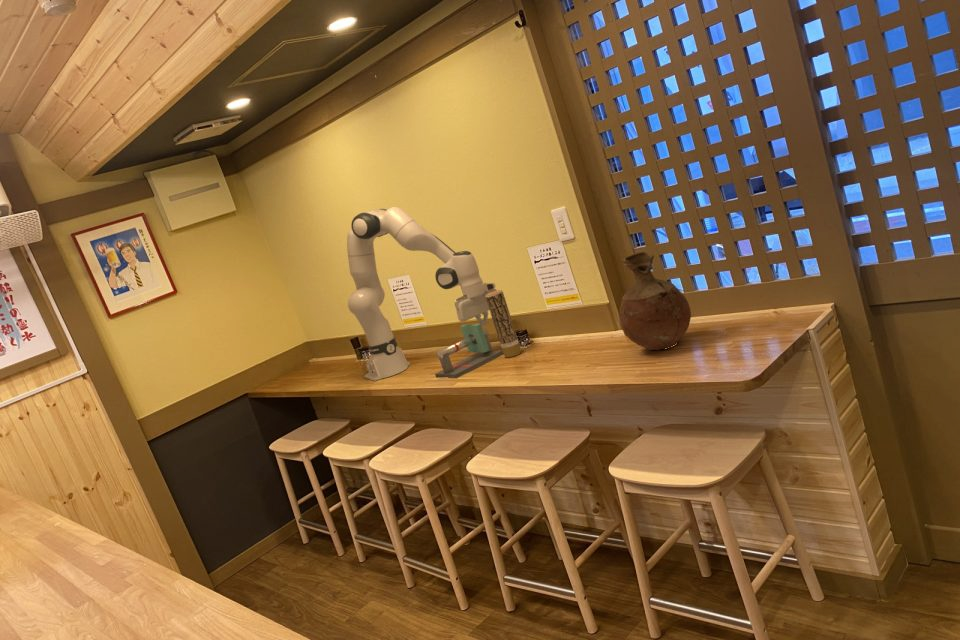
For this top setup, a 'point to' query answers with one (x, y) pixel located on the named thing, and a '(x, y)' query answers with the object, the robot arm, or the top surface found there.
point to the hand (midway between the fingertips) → (484, 324)
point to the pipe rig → (445, 353)
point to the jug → (652, 307)
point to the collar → (479, 335)
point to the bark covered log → (503, 323)
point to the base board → (470, 364)
